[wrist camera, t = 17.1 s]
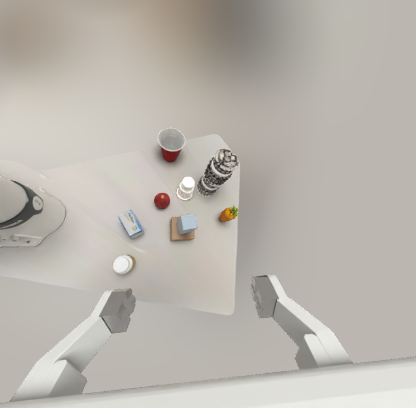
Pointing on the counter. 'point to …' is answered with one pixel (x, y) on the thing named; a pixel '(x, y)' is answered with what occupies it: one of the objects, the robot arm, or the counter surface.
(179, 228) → the slate pillar
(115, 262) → the supplement bottle
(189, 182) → the downlight
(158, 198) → the red round fruit
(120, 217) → the medicine box
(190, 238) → the walnut block
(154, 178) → the counter surface
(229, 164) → the decorative candle
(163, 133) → the plastic cup
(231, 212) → the carrot
